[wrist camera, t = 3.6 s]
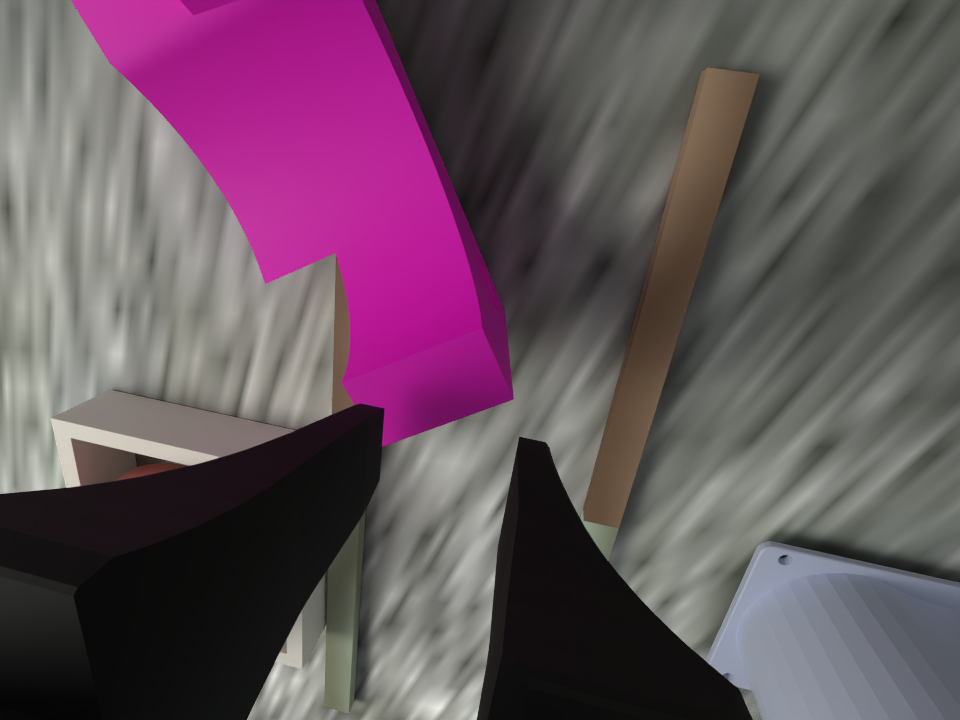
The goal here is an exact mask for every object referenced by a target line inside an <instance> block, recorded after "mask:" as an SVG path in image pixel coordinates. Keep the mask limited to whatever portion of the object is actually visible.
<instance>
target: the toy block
mask: <svg viewBox="0 0 960 720" xmlns="http://www.w3.org/2000/svg"><path fill="white" fill-rule="evenodd" d="M71 1H72V3H73V4H74V6H75V8H76V9H77V11H78V12H79V14H80V16H81V17H82V19H83V21H84V22H85V24H86V25H87V27H88V29H89V30H90V32H91V34H92V35H93V37H94V38H95V40H96V42H97V43H98V45H99V47H100V48H101V50H102V51H103V53H104V55H105V56H106V58H107V60H108V61H109V63H110V64H111V65H112V66H113V67H114V68H116V69H117V70H118V71H119V72H120V73H121V74H122V75H123V76H124V77H125V78H126V79H128V80H129V81H130V82H131V83H132V84H133V85H134V86H135V87H136V88H137V89H138V90H139V91H140V92H141V93H142V94H143V95H144V96H145V97H146V98H147V99H148V100H149V101H150V102H151V103H152V104H153V105H154V107H155V108H156V109H157V110H158V111H159V112H160V113H161V114H162V115H163V116H164V117H165V118H166V120H167V121H168V122H169V123H170V124H171V125H172V126H173V128H174V129H175V130H176V131H177V132H178V133H179V135H180V136H181V137H182V138H183V139H184V141H185V142H186V143H187V144H188V146H189V147H190V148H191V150H192V151H193V152H194V153H195V155H196V156H197V157H198V158H199V160H200V161H201V163H202V164H203V165H204V167H205V168H206V170H207V171H208V172H209V174H210V175H211V177H212V178H213V180H214V181H215V183H216V184H217V186H218V187H219V189H220V190H221V192H222V193H223V195H224V196H225V198H226V200H227V202H228V203H229V205H230V207H231V208H232V210H233V212H234V213H235V215H236V217H237V219H238V221H239V223H240V225H241V227H242V228H243V230H244V232H245V235H246V237H247V239H248V241H249V243H250V245H251V247H252V250H253V252H254V255H255V257H256V260H257V262H258V265H259V267H260V270H261V273H262V276H263V279H264V282H265V284H266V283H269V282H271V281H273V280H275V279H278V278H280V277H282V276H284V275H287V274H289V273H291V272H293V271H296V270H298V269H300V268H302V267H305V266H307V265H309V264H311V263H314V262H316V261H318V260H320V259H323V258H325V257H327V256H329V255H332V254H334V253H336V257H337V260H338V263H339V267H340V271H341V274H342V278H343V282H344V287H345V292H346V297H347V304H348V311H349V322H350V348H349V358H348V363H347V367H346V372H345V374H344V377H343V380H342V385H343V387H344V388H345V390H346V392H347V393H348V395H349V397H350V398H351V400H352V402H353V404H354V405H357V404H360V403H361V404H366V405H371V406H375V407H380V408H385V410H384V423H383V437H382V447H383V446H386V445H388V444H391V443H394V442H397V441H400V440H402V439H405V438H408V437H411V436H413V435H416V434H419V433H422V432H424V431H427V430H430V429H433V428H435V427H438V426H441V425H444V424H447V423H449V422H452V421H455V420H458V419H460V418H463V417H466V416H469V415H471V414H474V413H477V412H480V411H482V410H485V409H488V408H491V407H494V406H496V405H499V404H502V403H505V402H507V401H510V400H513V399H514V398H513V388H512V378H511V368H510V359H509V349H508V339H507V329H506V319H505V310H504V307H503V305H502V302H501V300H500V298H499V295H498V293H497V290H496V288H495V286H494V283H493V281H492V278H491V276H490V274H489V271H488V269H487V266H486V264H485V262H484V259H483V257H482V254H481V252H480V250H479V247H478V245H477V242H476V240H475V238H474V235H473V233H472V230H471V228H470V226H469V223H468V221H467V218H466V216H465V214H464V211H463V209H462V206H461V204H460V202H459V199H458V197H457V194H456V192H455V190H454V187H453V185H452V182H451V180H450V178H449V175H448V173H447V170H446V168H445V166H444V163H443V161H442V158H441V156H440V154H439V151H438V149H437V146H436V144H435V142H434V139H433V137H432V134H431V132H430V130H429V127H428V125H427V122H426V120H425V118H424V115H423V113H422V110H421V108H420V106H419V103H418V101H417V98H416V96H415V94H414V91H413V89H412V86H411V84H410V82H409V79H408V77H407V74H406V72H405V70H404V67H403V65H402V62H401V60H400V57H399V55H398V53H397V50H396V48H395V45H394V43H393V41H392V38H391V36H390V33H389V31H388V29H387V26H386V24H385V21H384V19H383V17H382V14H381V12H380V9H379V7H378V5H377V2H376V0H71Z"/></svg>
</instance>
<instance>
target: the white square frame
mask: <svg viewBox="0 0 960 720" xmlns="http://www.w3.org/2000/svg"><path fill="white" fill-rule="evenodd" d="M51 422H52V426H53V431H54V435H55V440H56V444H57V449H58V453H59V458H60V462H61V467H62V471H63V476H64V480H65V484H66V488H69V487H77V486H84V485H91V484H98V483H105V482H112V481H115V480H116V479H118V478H119V477H121V476H122V475H124V474H125V473H127V472H128V471H130V470H131V469H134V468H136V467H137V463H136V457H135V453H137V454H142V455H146V456H150V457H155V458H159V459H163V460H167V461H172V462H176V463H180V464H185V465H189V466H191V465H195V464H199V463H203V462H206V461H210V460H213V459H217V458H220V457H224V456H227V455H230V454H234V453H237V452H240V451H243V450H246V449H249V448H252V447H254V446H257V445H260V444H262V443H265V442H267V441H270V440H273V439H275V438H278V437H280V436H283V435H286V434H288V433H291V432H293V431H296V430H292V429H287V428H283V427H278V426H274V425H269V424H264V423H260V422H255V421H251V420H246V419H242V418H237V417H233V416H228V415H223V414H219V413H214V412H210V411H205V410H201V409H196V408H192V407H187V406H182V405H178V404H173V403H169V402H164V401H160V400H155V399H151V398H146V397H141V396H137V395H132V394H128V393H123V392H119V391H114V390H110V391H108V392H105V393H103V394H101V395H99V396H97V397H95V398H93V399H90V400H88V401H86V402H84V403H82V404H80V405H78V406H76V407H73V408H71V409H69V410H67V411H65V412H63V413H61V414H58V415H56V416H54V417H52V418H51ZM327 590H328V570H327V571H326V573H325V574H324V576H323V577H322V579H321V580H320V582H319V583H318V585H317V586H316V588H315V590H314V591H313V593H312V594H311V596H310V598H309V599H308V601H307V603H306V604H305V606H304V608H303V609H302V611H301V613H300V615H299V616H298V618H297V620H296V622H295V624H294V626H293V628H292V630H291V632H290V634H289V636H288V638H287V640H286V641H285V643H284V645H283V647H282V649H281V651H280V653H279V655H278V657H277V659H276V661H275V662H278V663H281V664H285V665H288V666H292V667H296V668H299V669H303V667H304V665H305V663H306V661H307V659H308V658H309V656H310V654H311V652H312V650H313V648H314V646H315V645H316V643H317V641H318V639H319V637H320V635H321V634H322V632H323V630H324V628H325V626H326V624H327Z"/></svg>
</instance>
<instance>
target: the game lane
mask: <svg viewBox="0 0 960 720" xmlns="http://www.w3.org/2000/svg"><path fill="white" fill-rule="evenodd" d="M388 31H389V30H388ZM389 33H390V36H391V38H392V41H393V43H394V42H395V35H394V34H393V33H392V32H390V31H389ZM759 76H760V74H756V73H747V72H739V71H731V70H723V69H715V68H707V69H705V70H704V71H703V72H702V73H701V75H700V79H699V83H698V86H697V90H696V94H695V97H694V101H693V105H692V108H691V112H690V116H689V120H688V123H687V127H686V131H685V134H684V138H683V142H682V145H681V149H680V153H679V156H678V160H677V164H676V168H675V171H674V175H673V179H672V182H671V186H670V190H669V193H668V197H667V201H666V205H665V208H664V212H663V216H662V219H661V223H660V227H659V230H658V234H657V238H656V242H655V245H654V249H653V253H652V256H651V260H650V264H649V267H648V271H647V275H646V279H645V282H644V286H643V290H642V293H641V297H640V301H639V304H638V308H637V312H636V316H635V319H634V323H633V327H632V330H631V334H630V338H629V341H628V345H627V349H626V352H625V356H624V360H623V364H622V367H621V371H620V375H619V378H618V382H617V386H616V389H615V393H614V397H613V401H612V404H611V408H610V412H609V415H608V419H607V423H606V426H605V430H604V434H603V438H602V441H601V445H600V449H599V452H598V456H597V460H596V463H595V467H594V471H593V475H592V478H591V482H590V486H589V489H588V493H587V497H586V500H585V504H584V508H583V512H582V515H581V521H582V523H583V524H584V526H585V528H586V529H587V531H588V533H589V534H590V536H591V537H592V539H593V540H594V542H595V543H596V545H597V546H598V548H599V549H600V551H601V552H602V553H603V555H604V556H605V558H606V559H607V561H608V562H609V559H610V556H611V553H612V549H613V546H614V543H615V540H616V536H617V533H618V530H619V527H620V524H621V520H622V517H623V514H624V511H625V507H626V504H627V501H628V498H629V495H630V491H631V488H632V485H633V482H634V479H635V475H636V472H637V469H638V466H639V462H640V459H641V456H642V453H643V450H644V446H645V443H646V440H647V437H648V433H649V430H650V427H651V424H652V421H653V417H654V414H655V411H656V408H657V405H658V401H659V398H660V395H661V392H662V388H663V385H664V382H665V379H666V376H667V372H668V369H669V366H670V363H671V359H672V356H673V353H674V350H675V347H676V343H677V340H678V337H679V334H680V331H681V327H682V324H683V321H684V318H685V314H686V311H687V308H688V305H689V302H690V298H691V295H692V292H693V289H694V285H695V282H696V279H697V276H698V273H699V269H700V266H701V263H702V260H703V256H704V253H705V250H706V247H707V244H708V240H709V237H710V234H711V231H712V228H713V224H714V221H715V218H716V215H717V211H718V208H719V205H720V202H721V199H722V195H723V192H724V189H725V186H726V182H727V179H728V176H729V173H730V170H731V166H732V163H733V160H734V157H735V154H736V150H737V147H738V144H739V141H740V137H741V134H742V131H743V128H744V125H745V121H746V118H747V115H748V112H749V108H750V105H751V102H752V99H753V96H754V92H755V89H756V86H757V83H758V80H759ZM349 348H350V322H349V311H348V304H347V297H346V292H345V287H344V282H343V278H342V274H341V271H340V267H339V263H338V260H337V257H336V282H335V320H334V359H333V397H332V414H335V413H337V412H339V411H342V410H344V409H346V408H349V407H351V406H354V404H353V402H352V400H351V398H350V397H349V395H348V393H347V392H346V390H345V388H344V387H343V385H342V380H343V377H344V374H345V372H346V367H347V363H348V358H349ZM365 517H366V510H365V512H364V514H363V516H362V517H361V519H360V520H359V522H358V524H357V525H356V527H355V528H354V530H353V531H352V533H351V534H350V536H349V538H348V539H347V541H346V542H345V544H344V545H343V547H342V548H341V550H340V551H339V553H338V554H337V556H336V557H335V559H334V560H333V562H332V564H331V565H330V567H329V568H328V590H327V628H326V667H325V705H324V707H327V708H331V709H334V710H338V711H342V712H345V713H349V712H350V709H351V707H352V704H353V702H354V697H355V681H356V664H357V648H358V632H359V615H360V599H361V582H362V566H363V550H364V533H365Z"/></svg>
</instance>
